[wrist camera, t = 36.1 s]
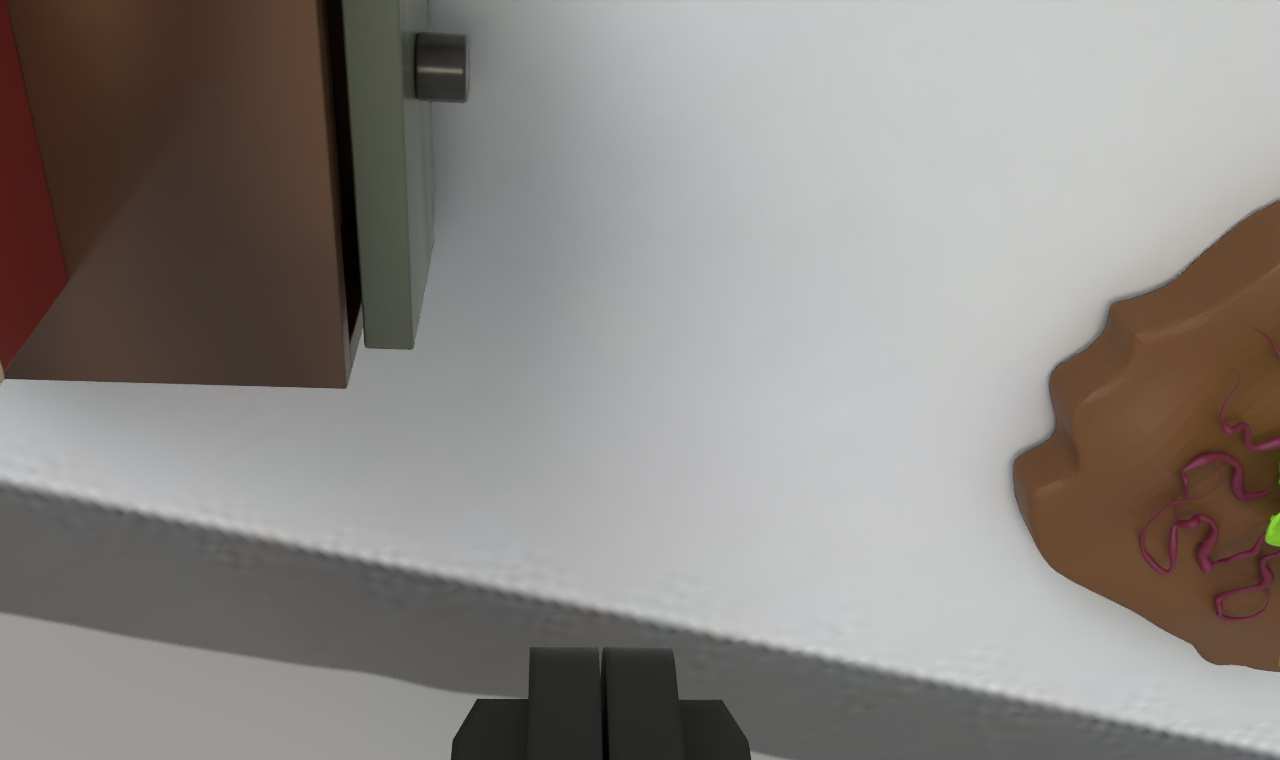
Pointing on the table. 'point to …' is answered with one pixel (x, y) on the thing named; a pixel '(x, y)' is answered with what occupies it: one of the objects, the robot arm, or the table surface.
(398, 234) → the drawer
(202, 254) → the cabinet
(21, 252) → the carton
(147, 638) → the table surface
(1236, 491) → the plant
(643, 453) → the table surface
